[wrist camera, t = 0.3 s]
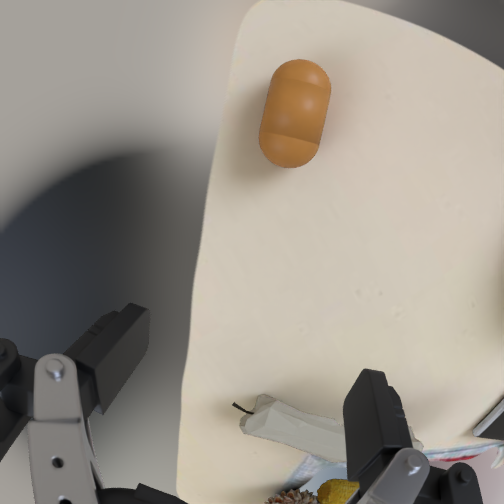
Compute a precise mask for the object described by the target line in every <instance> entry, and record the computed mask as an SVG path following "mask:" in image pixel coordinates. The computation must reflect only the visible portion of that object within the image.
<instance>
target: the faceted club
mask: <svg viewBox="0 0 504 504" xmlns="http://www.w3.org/2000/svg"><path fill="white" fill-rule="evenodd" d="M232 406H234V407H236V408H238V409H240V410H242V411H243V412H245V413H247V414H246V415H244V416H243V417H242V418H241V420H240V428H241V430H242V432H243V434H247V435H252V436H256V437H259V438H263V439H267V440H271V441H275V442H280V443H284V444H286V445H289V446H291V447H294V448H296V449H299V450H302V451H304V452H307V453H310V454H312V455H315V456H318V457H321V458H323V459H325V460H328V461H330V462H332V463H334V462H347V459H346V443H345V430H344V426H343V425H340V424H339V423H338V422H337V421H336V420H335V419H332V418H327V417H322V416H318V415H313V414H309V413H304V412H301V411H299V410H297V409H295V408H293V407H291V406H289V405H287V404H285V403H283V402H281V401H279V400H276V399H274V398H272V397H269V396H267V395H260V396H259V397H258V400H257V403H256V405H255V408H253V409H252V410H251V411H246V410H245V409H243V408H242V407H240V406H239V405H237V404H236V403H235V402H234V403H233V404H232ZM408 429H409V432H410V436H411V440H412V444H413V448H414V449H417V450H419V451H420V452H422V450H423V447H424V446H423V444H422V443H421V442H420V441H419V440H417V439H415V437H414V434H413V431H412V428H411V427H408Z"/></svg>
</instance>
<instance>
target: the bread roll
mask: <svg viewBox="0 0 504 504" xmlns="http://www.w3.org/2000/svg"><path fill="white" fill-rule="evenodd" d="M330 95H331V84H330V80H329V77H328V76H327V74H326V72H325V71H324V70H323V69H322V68H321V67H320V66H318V65H317V64H315V63H313V62H311V61H308V60H302V59H297V60H291V61H288V62H286V63H284V64H282V65H281V66H280V67H279V68H278V69H277V70H276V71H275V72H274V74H273V76H272V79H271V82H270V87H269V91H268V96H267V100H266V104H265V109H264V113H263V118H262V122H261V127H260V131H259V144H260V147H261V150H262V152H263V154H264V155H265V156H266V157H267V159H268V160H270V161H271V162H272V163H274V164H276V165H277V166H281V167H285V168H296V167H300V166H302V165H304V164H306V163H308V162H309V161H310V160H311V159H312V158H313V157H314V156H315V154H316V152H317V150H318V147H319V144H320V140H321V135H322V131H323V127H324V122H325V118H326V113H327V109H328V104H329V99H330Z"/></svg>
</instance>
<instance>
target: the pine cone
mask: <svg viewBox="0 0 504 504" xmlns="http://www.w3.org/2000/svg"><path fill="white" fill-rule="evenodd" d="M308 492H309V491H308V490H306V491H305V492H301V493H300V490H299V489H297V490H296V491H294V490H292V489H291V490H290V492H289V493H286V492H285V491H284V490H283V491H282V492H281V495H278V494H276V495H275V498H273V497H270V498H269V499H268V501H269V503H268V502H265V504H320V502H319V501H318V498H317V497H318V496H314V495H312V494H313V492H310V493H308Z"/></svg>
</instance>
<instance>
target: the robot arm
mask: <svg viewBox="0 0 504 504" xmlns="http://www.w3.org/2000/svg"><path fill="white" fill-rule="evenodd" d="M149 326H150V310H149V309H147V308H144V307H141V306H138V305H136V304H133V303H129V304H128V305H127V306H126V307H125V308H124V309H123V310H122V311H121V312H120V313H118V312H117V311H112V312H110V313H108V314H106V315H103V316H102V317H101V318H100V319H98V320H97V321H96V322H95V324H94V325H92V326H91V327H90V328H89V329H88V331H86V332H85V333H84V334H83V335H82V336H81V337H80V338H79V339H78V340H77V341H76V342H75V343H74V344H73V345H72V346H71V347H70V348H69V349H68V350H67V351H66V352H65V353H63V354H48V355H46V356H44V357H42V358H41V359H40V360H36V359H32V358H28V357H25V356H22V355H19V354H18V351H17V347H16V345H15V344H14V343H13V342H12V341H10V340H8V339H3V338H0V462H1V460H2V459H3V457H4V456H5V454H6V453H7V451H8V450H9V448H10V447H11V445H12V444H13V443H14V441H15V440H16V438H17V437H18V435H19V434H20V433H21V431H22V430H23V428H24V427H25V426H26V424H27V423H28V446H29V460H30V470H31V479H32V486H33V493H34V499H35V504H188V503H186V502H184V501H183V500H181V499H179V498H177V497H176V496H173V495H170V494H167V493H164V492H162V491H159V490H156V489H154V488H151V487H148V486H146V485H143V484H141V483H139V484H138V486H137V488H136V490H134V489H128V488H105V485H104V482H103V479H102V475H101V472H100V469H99V466H98V462H97V458H96V454H95V450H94V445H93V440H92V435H91V429H90V424H89V419H88V417H89V416H90V414H91V413H92V411H93V410H94V411H96V412H98V413H100V414H102V415H104V413H105V412H106V410H107V409H108V407H109V406H110V404H111V403H112V401H113V400H114V399H115V397H116V396H117V394H118V393H119V391H120V390H121V388H122V387H123V385H124V384H125V383H126V381H127V380H128V378H129V377H130V375H131V374H132V373H133V371H134V370H135V368H136V367H137V365H138V364H139V363H140V361H141V360H142V358H143V357H144V355H145V353H146V351H147V348H148V344H149ZM31 417H33V420H30V419H31ZM343 418H344V430H345V443H346V459H347V478H348V481H350V482H359V488H358V489H357V490H356V491H355V492H354V493H353V494H352V495H351V497H350V498H349V499H348V500H347V501H346V502H345V504H483V501H482V496H481V492H480V488H479V484H478V480H477V476H476V473H475V471H474V470H473V469H472V467H470V466H469V465H468V464H466V463H461V462H459V463H455V464H454V465H452V467H450V468H449V469H448V470H444V469H440V468H436V467H433V466H430V465H429V461H428V459H427V457H426V456H425V455H424V454H423V453H422V452H420V451H419V450H417V449H414V448H413V444H412V440H411V436H410V432H409V429H408V425H407V421H406V418H405V414H404V410H403V409H402V403H401V400H400V396H399V395H398V394H397V392H396V391H395V390H394V388H393V387H392V386H388V383H387V380H386V376H385V373H384V372H382V371H376V370H371V369H363V370H362V372H361V373H360V375H359V376H358V378H357V380H356V382H355V383H354V385H353V386H352V388H351V390H350V391H349V393H348V395H347V396H346V398H345V401H344V405H343Z"/></svg>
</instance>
